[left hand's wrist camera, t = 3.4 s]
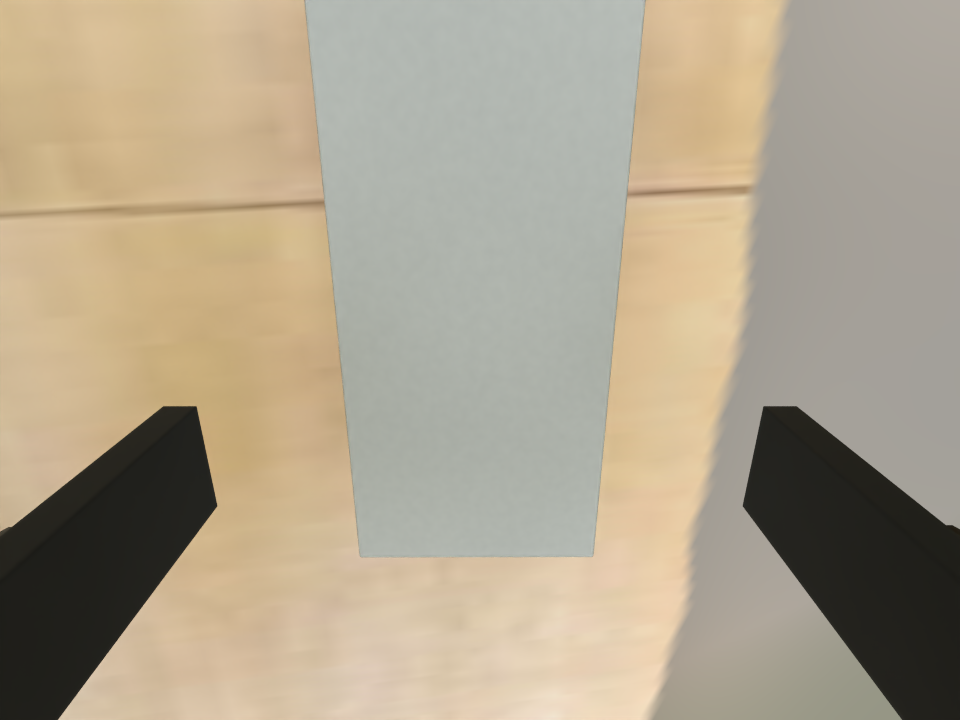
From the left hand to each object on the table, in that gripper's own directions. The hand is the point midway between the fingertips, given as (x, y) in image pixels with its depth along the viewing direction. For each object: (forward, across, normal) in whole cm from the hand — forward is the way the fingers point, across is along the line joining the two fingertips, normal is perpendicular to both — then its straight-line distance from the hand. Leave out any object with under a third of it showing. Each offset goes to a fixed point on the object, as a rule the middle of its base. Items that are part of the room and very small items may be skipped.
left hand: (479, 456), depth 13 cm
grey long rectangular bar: (+13, 0, -17) cm, 22 cm away
